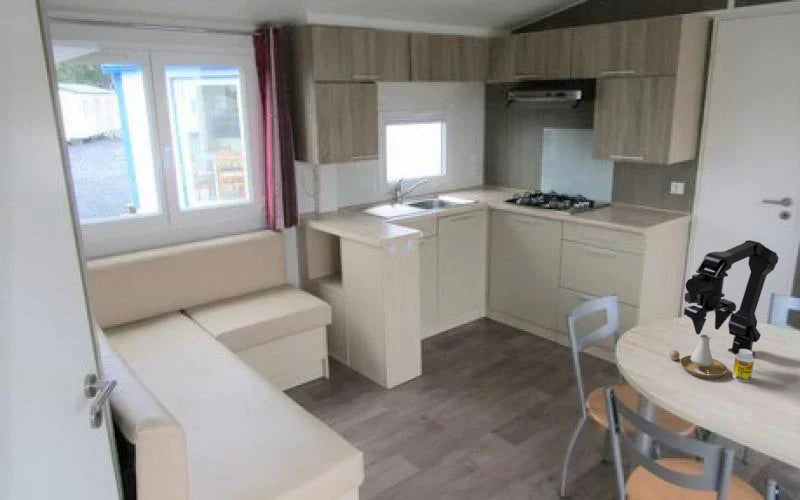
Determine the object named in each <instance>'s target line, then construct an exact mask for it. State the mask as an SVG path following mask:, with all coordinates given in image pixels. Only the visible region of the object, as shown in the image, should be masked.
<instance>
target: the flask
mask: <svg viewBox="0 0 800 500" xmlns="http://www.w3.org/2000/svg"><path fill="white" fill-rule="evenodd" d="M699 337H700V339H699V342H698V345H697V347H696V348H695V350H694V351H693V353H692V356H691V358H690V360H691V361H692V362H693V363H695V364H697V365H699V366H711V365H714V363H713V359H714V358H713V355H712V352H711V348H710V339H712V337H711V336H710V335H708V334H703V333H702V334H699ZM712 358H713V359H712Z"/></svg>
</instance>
